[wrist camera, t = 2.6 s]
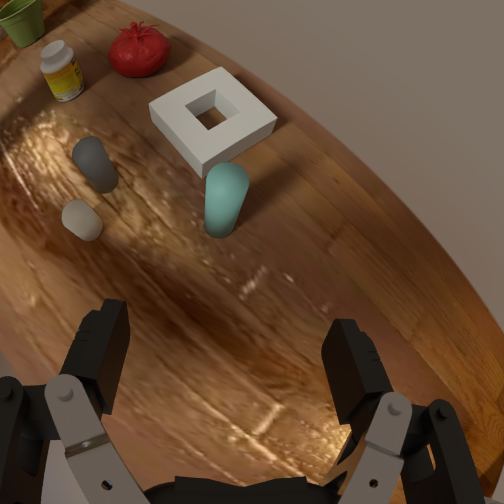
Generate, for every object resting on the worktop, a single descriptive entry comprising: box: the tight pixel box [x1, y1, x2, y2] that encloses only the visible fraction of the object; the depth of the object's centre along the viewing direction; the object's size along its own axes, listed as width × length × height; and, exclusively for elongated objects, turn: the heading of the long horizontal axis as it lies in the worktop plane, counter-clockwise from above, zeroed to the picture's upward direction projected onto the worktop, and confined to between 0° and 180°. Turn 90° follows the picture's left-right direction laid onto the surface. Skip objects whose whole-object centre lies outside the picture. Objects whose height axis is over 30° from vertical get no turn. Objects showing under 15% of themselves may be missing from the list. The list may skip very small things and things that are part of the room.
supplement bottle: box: [40, 40, 84, 102], centre depth 32 cm, size 6×6×10 cm
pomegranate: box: [109, 21, 171, 77], centre depth 36 cm, size 10×10×9 cm
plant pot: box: [0, 0, 45, 48], centre depth 33 cm, size 12×12×11 cm
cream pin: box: [62, 199, 103, 241], centre depth 31 cm, size 4×4×5 cm
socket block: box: [149, 67, 277, 179], centre depth 37 cm, size 12×12×4 cm
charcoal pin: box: [72, 136, 118, 194], centre depth 31 cm, size 4×4×8 cm
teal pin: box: [204, 162, 249, 238], centre depth 31 cm, size 4×4×12 cm
